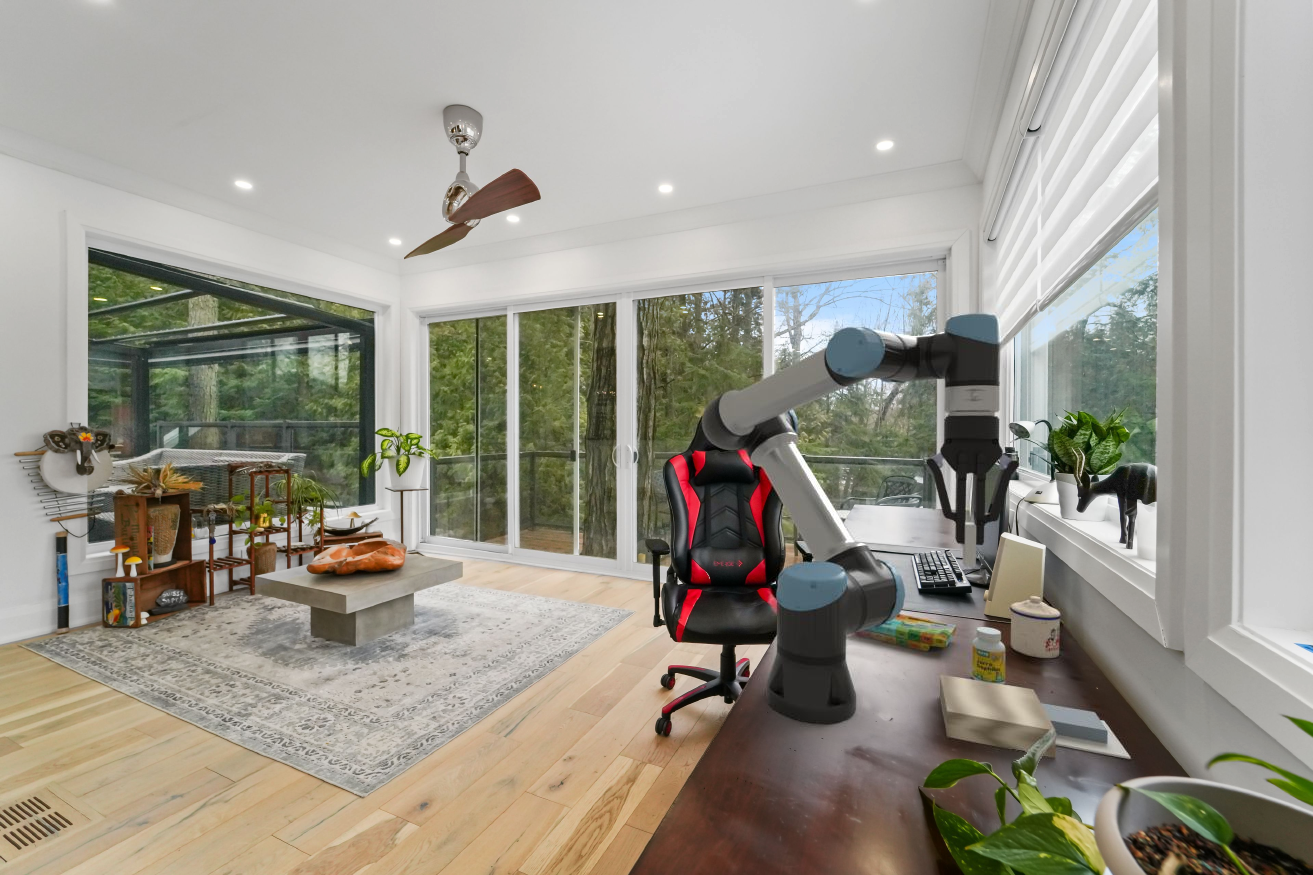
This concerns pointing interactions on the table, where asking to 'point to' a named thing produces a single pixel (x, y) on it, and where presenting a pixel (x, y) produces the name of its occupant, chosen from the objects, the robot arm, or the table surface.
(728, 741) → the table surface
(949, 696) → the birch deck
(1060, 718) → the slate tile
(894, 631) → the puzzle game
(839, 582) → the robot arm
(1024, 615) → the teacup with lid
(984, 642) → the supplement bottle
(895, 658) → the table surface
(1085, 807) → the table surface
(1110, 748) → the white mat
